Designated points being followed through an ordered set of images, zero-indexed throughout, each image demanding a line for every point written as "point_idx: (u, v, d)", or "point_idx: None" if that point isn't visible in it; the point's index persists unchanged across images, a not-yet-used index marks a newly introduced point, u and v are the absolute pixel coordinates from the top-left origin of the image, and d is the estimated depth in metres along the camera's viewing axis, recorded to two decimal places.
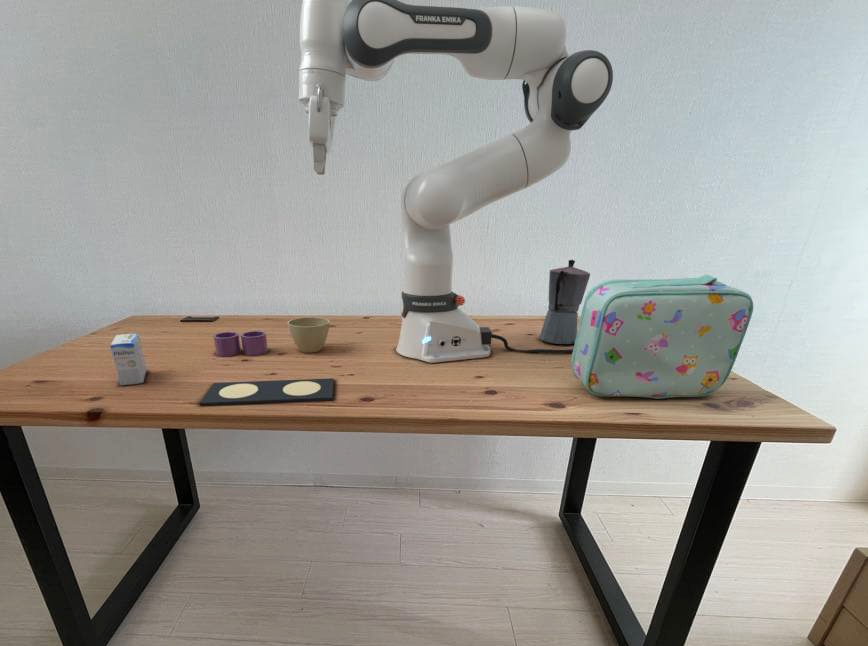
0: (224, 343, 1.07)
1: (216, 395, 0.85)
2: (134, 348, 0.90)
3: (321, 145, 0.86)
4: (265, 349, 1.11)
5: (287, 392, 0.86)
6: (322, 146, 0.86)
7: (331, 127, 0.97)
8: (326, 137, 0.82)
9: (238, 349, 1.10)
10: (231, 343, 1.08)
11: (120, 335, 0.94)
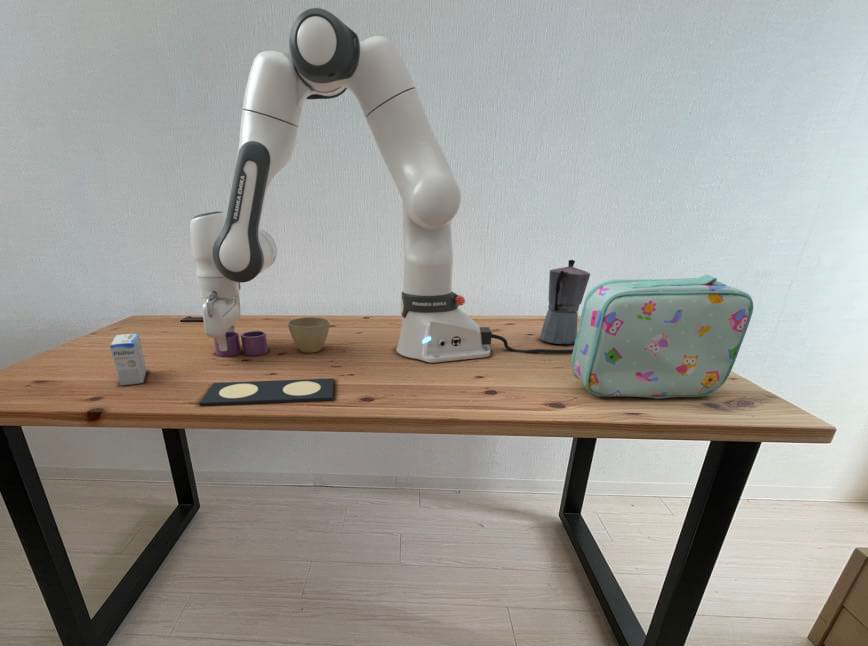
0: None
1: (216, 395, 0.85)
2: (134, 348, 0.90)
3: None
4: (265, 349, 1.11)
5: (287, 392, 0.86)
6: None
7: (236, 300, 1.14)
8: (220, 334, 1.00)
9: (238, 349, 1.10)
10: (231, 343, 1.08)
11: (120, 335, 0.94)
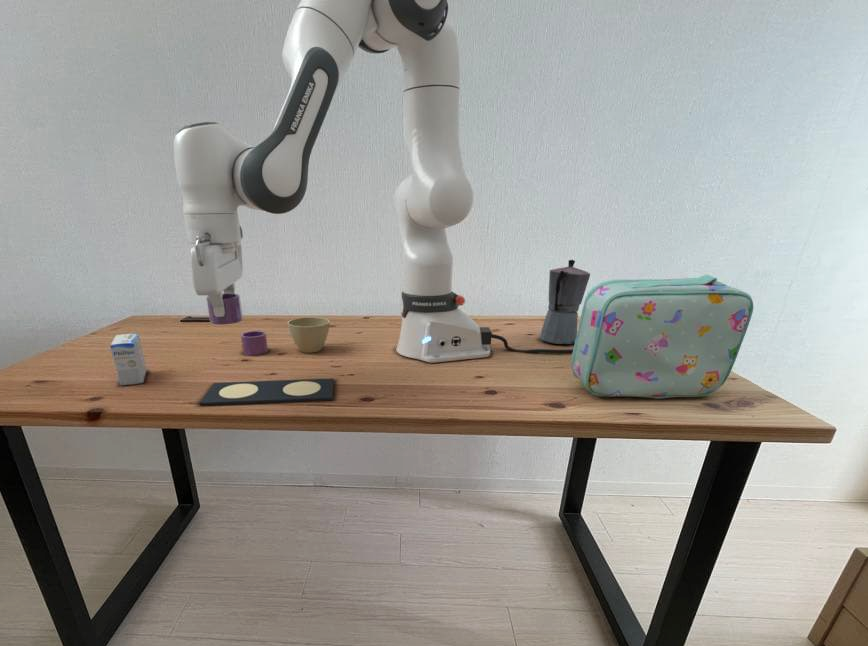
0: None
1: (216, 395, 0.85)
2: (134, 348, 0.90)
3: None
4: (265, 349, 1.11)
5: (287, 392, 0.86)
6: None
7: (237, 254, 0.88)
8: (215, 290, 0.73)
9: (239, 315, 0.84)
10: (229, 307, 0.82)
11: (120, 335, 0.94)
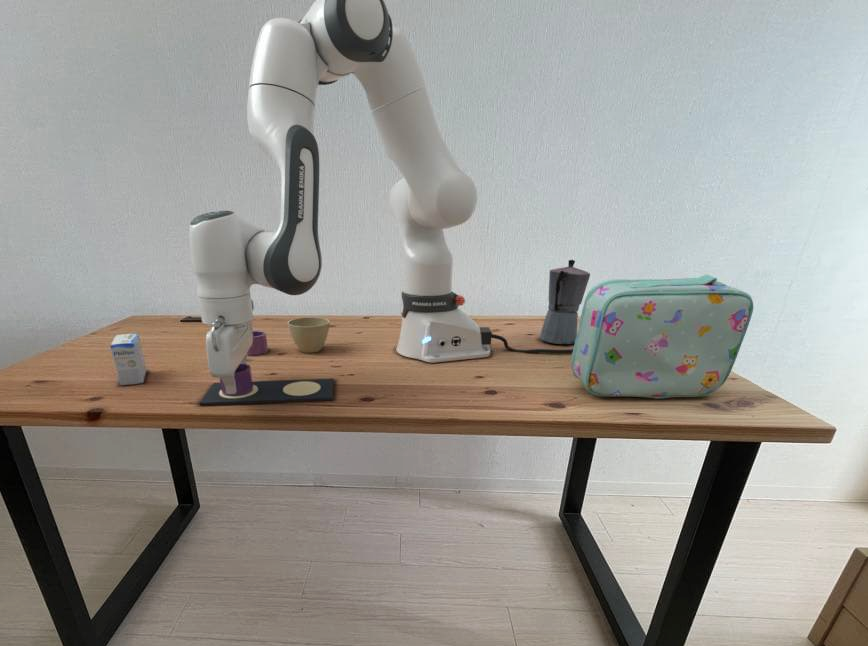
0: None
1: (216, 395, 0.85)
2: (134, 348, 0.90)
3: None
4: (265, 349, 1.11)
5: (287, 392, 0.86)
6: None
7: (248, 324, 0.90)
8: (229, 373, 0.75)
9: (250, 386, 0.86)
10: (241, 380, 0.84)
11: (120, 335, 0.94)
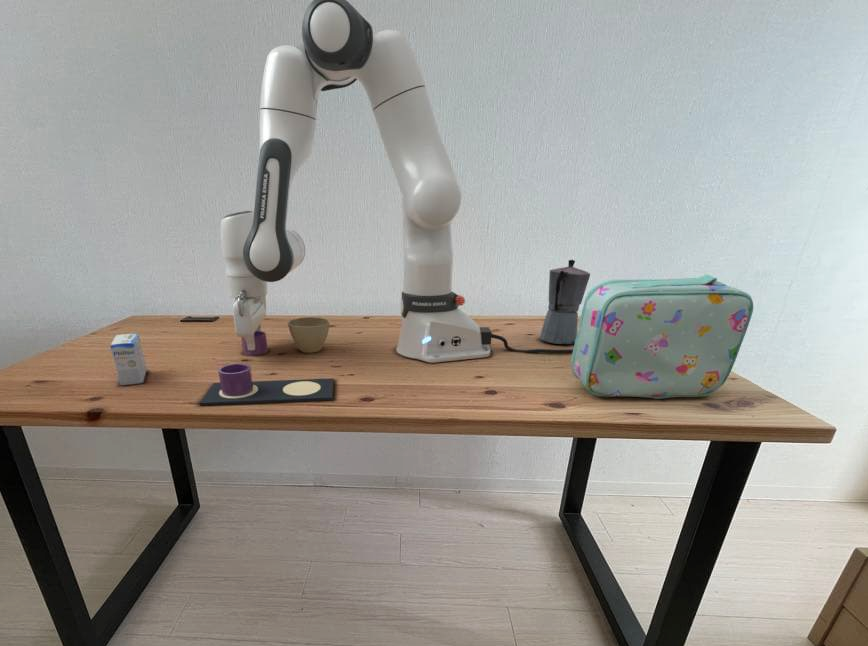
0: (232, 380, 0.83)
1: (216, 395, 0.85)
2: (134, 348, 0.90)
3: None
4: (265, 349, 1.11)
5: (287, 392, 0.86)
6: None
7: (263, 300, 1.14)
8: (250, 333, 1.00)
9: (250, 386, 0.86)
10: (241, 380, 0.84)
11: (120, 335, 0.94)
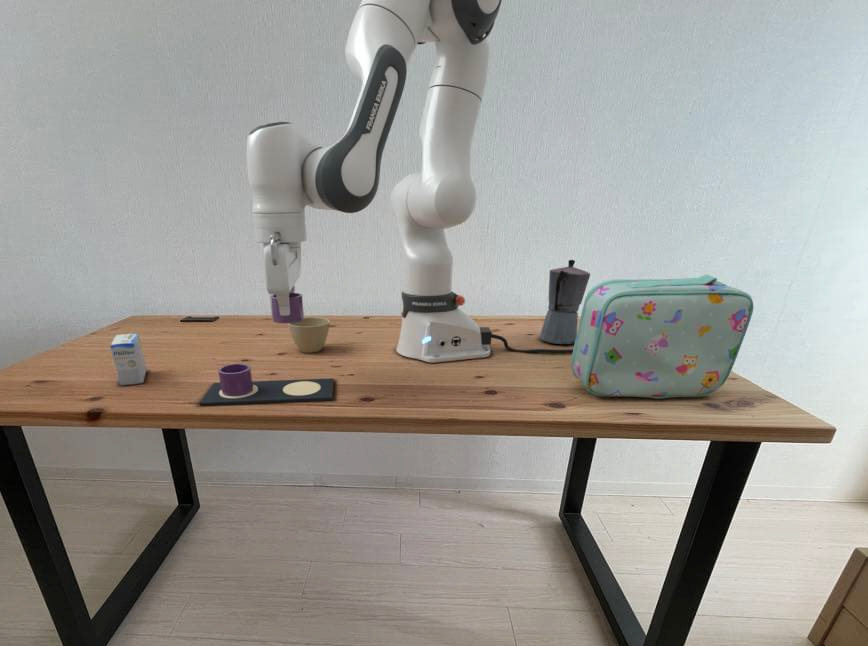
0: (232, 380, 0.83)
1: (216, 395, 0.85)
2: (134, 348, 0.90)
3: None
4: (301, 316, 0.84)
5: (287, 392, 0.86)
6: None
7: (297, 253, 0.88)
8: (287, 289, 0.74)
9: (250, 386, 0.86)
10: (241, 380, 0.84)
11: (120, 335, 0.94)
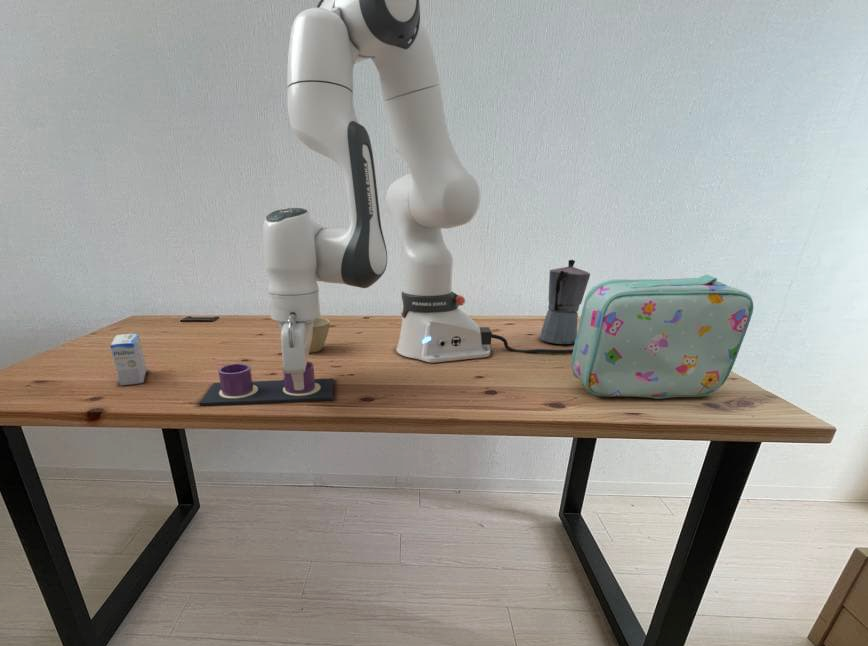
0: (232, 380, 0.83)
1: (216, 395, 0.85)
2: (134, 348, 0.90)
3: None
4: (313, 385, 0.87)
5: (287, 392, 0.86)
6: None
7: None
8: (303, 369, 0.76)
9: (250, 386, 0.86)
10: (241, 380, 0.84)
11: (120, 335, 0.94)
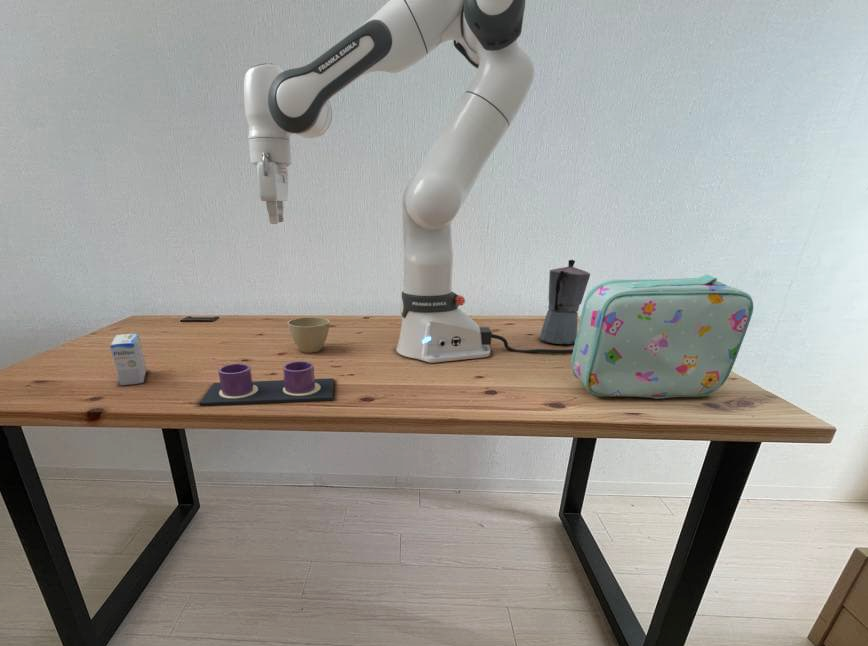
0: (232, 380, 0.83)
1: (216, 395, 0.85)
2: (134, 348, 0.90)
3: (273, 202, 0.98)
4: (313, 385, 0.87)
5: (287, 392, 0.86)
6: (274, 202, 0.98)
7: (285, 179, 1.09)
8: (275, 196, 0.95)
9: (250, 386, 0.86)
10: (241, 380, 0.84)
11: (120, 335, 0.94)
